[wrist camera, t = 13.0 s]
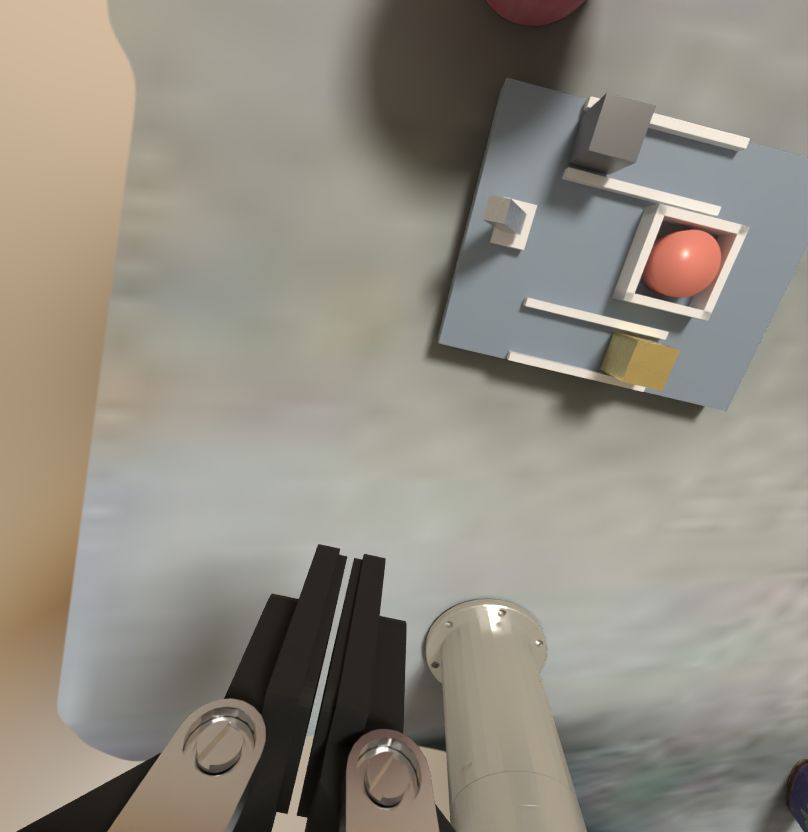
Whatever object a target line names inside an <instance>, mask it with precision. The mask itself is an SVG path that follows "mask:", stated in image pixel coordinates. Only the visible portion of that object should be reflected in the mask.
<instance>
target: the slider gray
mask: <svg viewBox="0 0 808 832" xmlns="http://www.w3.org/2000/svg"><path fill="white" fill-rule="evenodd" d="M655 107H656V106H654V105H650V104H646V103H642V102H639V101H635V100H631V99H627V98H624V97H620V96H616V95H612V94H609V93H606V94H605V95H604V96H603V97H602V98H601V99H600V100H599V101H597V102H596V103H595V104H594V105H593V106H592V107H591V108H590V109H588V110H587V111H586V112H585V113H584V114H583V116H582V119H581V123H580V126H579V129H578V132H577V136H576V139H575V142H574V145H573V148H572V152H571V155H570V158H569V161H568V164H570V165H574V166H578V167H581V168H585V169H589V170H593V171H597V172H601V173H605V174H608V175H610V174H612V173H614V172H616V171H619V170H621V169H623V168H625V167H627V166H630V165H632V164H634V163H636V161H637V158H638V155H639V152H640V150H641V147H642V144H643V141H644V138H645V136H646V133H647V130H648V127H649V124H650V121H651V119H652V116H653V113H654V110H655Z"/></svg>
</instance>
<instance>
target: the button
mask: <svg viewBox="0 0 808 832" xmlns="http://www.w3.org/2000/svg"><path fill="white" fill-rule="evenodd" d="M720 263H721V252H720V248H719V245H718V243H717V241H716V240H715V239H714V238H713V237H712V236H711V235H710V234H708V233H706V232H704V231H701V230H686V231H678V232H671V233H667V234H665V235H663V236H661V237H659V238H658V239H656V240H655V241H654V244H653V247H652V249H651V252H650V254H649V257H648V260H647V262H646V265H645V267H644V270H643V273H642V275H641V276H642V279H643V282H644V284H645V285H646V286H647V288H648V289H649V290H651V291H652V292H654V293H656V294H659V295H664V296H671V297H681V298H683V297H689V296H693V295H695V294H697V293H699V292H701V291H702V290H704V289H705V288H706V287H707V286H708V285H709V284H710V283H711V282H712V281H713V279H714V278H715V276H716V274H717V273H718V270H719V267H720Z"/></svg>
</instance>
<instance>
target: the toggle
mask: <svg viewBox="0 0 808 832" xmlns="http://www.w3.org/2000/svg"><path fill="white" fill-rule="evenodd" d="M526 215H527V214H526V213H525V212H524V211H523V210H522V209H521V208H520V207H519V206H518V205H517V204H516V203H515V202H514V201H513V200H512V199H509V198H503V197H497V196H491V195H489V198H488V201H487V205H486V209H485V213H484V216H483V220H484V221H486V222H487V223H489V224H490V225H492V226H493V227H495V228H496V229H498V230H500V231H501V232H506V233H511V234H516V235H521V232H522V228H523V225H524V222H525V218H526Z"/></svg>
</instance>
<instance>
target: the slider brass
mask: <svg viewBox="0 0 808 832" xmlns="http://www.w3.org/2000/svg"><path fill="white" fill-rule="evenodd" d="M679 352H680V350H679V349H676V348H673V347H670V346H667V345H664V344H661V343H658V342H655V341H652V340H648V339H644V338H640V337H635V336H631V335H627V334H623V333H619V332H615V331H614V334H613V336H612V339H611V342H610V344H609V347H608V349H607V352H606V355H605V357H604V360H603V363H602V365H601V368H600V369H601V370H603V371H605V372H606V373H608V374H610V375H611V376H613V377H615V378H617V379H618V380H620V381H622V382H626V383H630V384H634V385H638V386H643V387H647V388H651V389H655V390H659V391H663V389H664V386H665V384H666V382H667V379H668V377H669V375H670V373H671V370H672V368H673V366H674V363H675V361H676V359H677V356H678V354H679Z"/></svg>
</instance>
